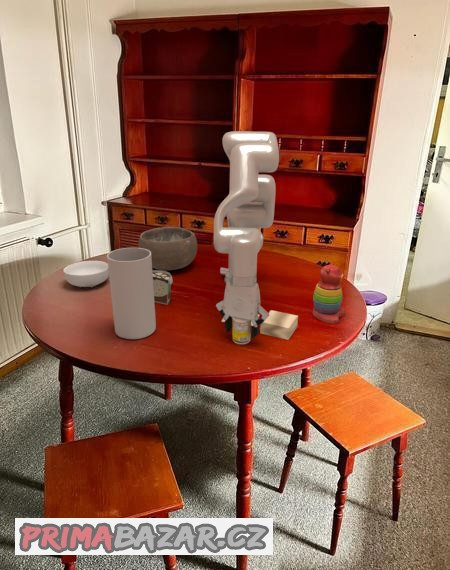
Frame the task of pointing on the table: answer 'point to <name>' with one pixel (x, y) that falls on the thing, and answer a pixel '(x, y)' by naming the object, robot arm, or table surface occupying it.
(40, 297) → the table surface
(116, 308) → the cylinder vase
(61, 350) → the table surface
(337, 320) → the stacking bear
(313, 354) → the table surface
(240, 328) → the supplement bottle
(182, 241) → the bowl
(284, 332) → the pedestal
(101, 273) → the cereal bowl
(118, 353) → the table surface
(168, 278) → the food container
